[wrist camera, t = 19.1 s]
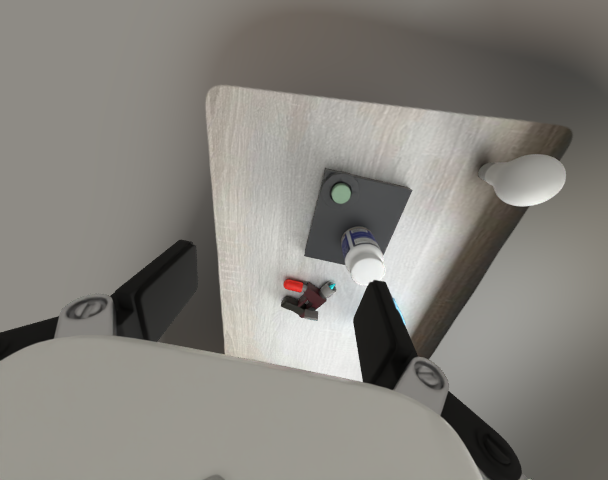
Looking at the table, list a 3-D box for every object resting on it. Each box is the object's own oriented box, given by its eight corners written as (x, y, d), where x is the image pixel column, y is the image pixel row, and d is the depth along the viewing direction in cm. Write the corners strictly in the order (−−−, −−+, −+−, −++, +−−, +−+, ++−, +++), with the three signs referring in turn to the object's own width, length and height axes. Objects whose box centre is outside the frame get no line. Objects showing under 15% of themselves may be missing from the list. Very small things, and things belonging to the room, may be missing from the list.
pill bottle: (356, 259, 40) (365, 296, 31) (334, 240, 39) (337, 273, 30) (380, 239, 38) (398, 272, 29) (358, 218, 37) (369, 247, 28)
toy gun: (341, 284, 45) (343, 300, 41) (304, 314, 50) (303, 332, 46) (305, 257, 43) (303, 271, 39) (271, 292, 48) (266, 308, 43)
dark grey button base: (325, 165, 35) (326, 169, 32) (409, 185, 35) (417, 190, 32) (304, 251, 42) (303, 260, 39) (373, 266, 43) (377, 276, 40)
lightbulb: (496, 190, 35) (565, 213, 25) (457, 189, 35) (509, 212, 25) (513, 148, 32) (597, 157, 22) (469, 149, 32) (533, 157, 23)
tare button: (334, 181, 33) (334, 183, 32) (351, 185, 33) (353, 187, 32) (329, 198, 34) (329, 201, 33) (346, 202, 34) (347, 205, 33)
